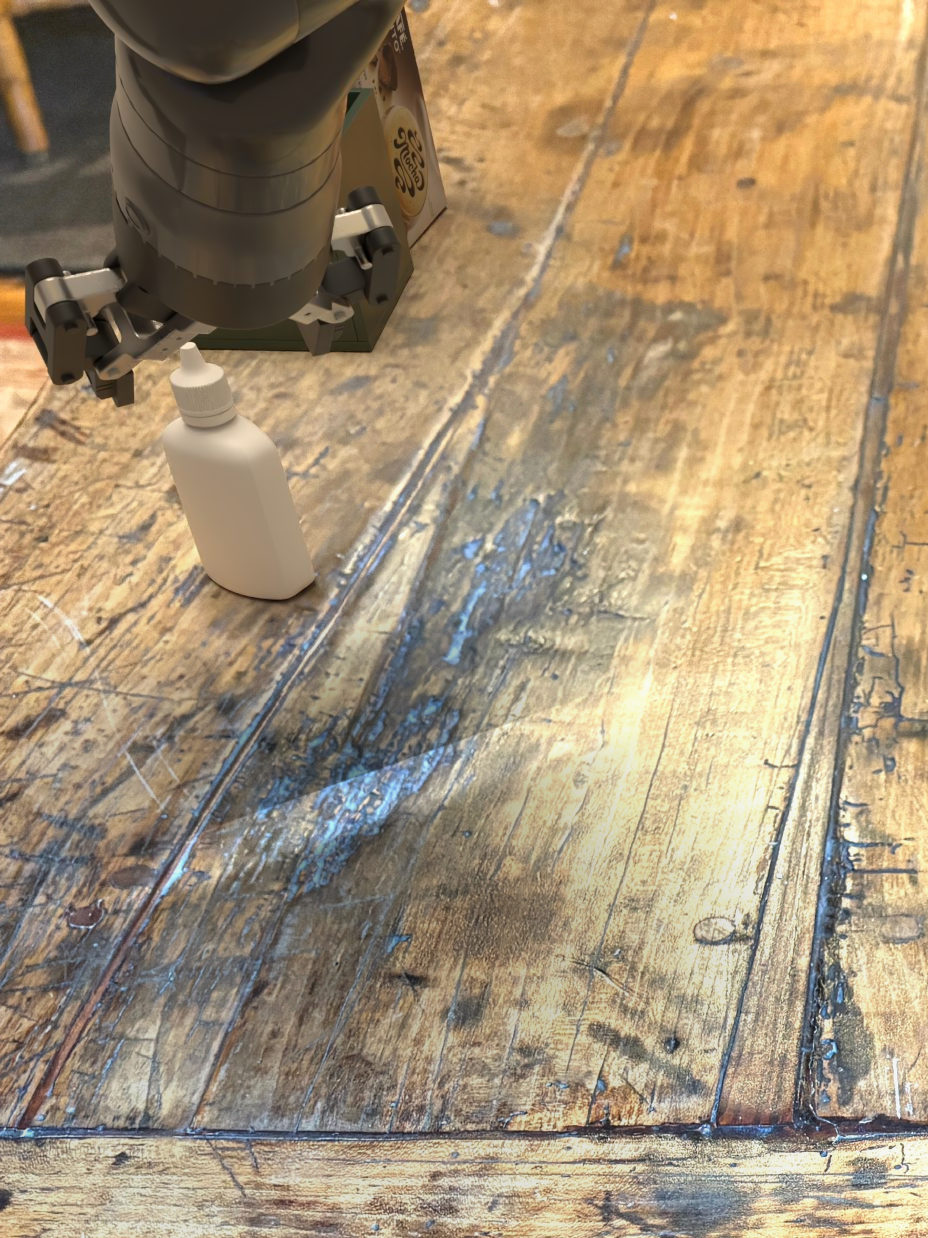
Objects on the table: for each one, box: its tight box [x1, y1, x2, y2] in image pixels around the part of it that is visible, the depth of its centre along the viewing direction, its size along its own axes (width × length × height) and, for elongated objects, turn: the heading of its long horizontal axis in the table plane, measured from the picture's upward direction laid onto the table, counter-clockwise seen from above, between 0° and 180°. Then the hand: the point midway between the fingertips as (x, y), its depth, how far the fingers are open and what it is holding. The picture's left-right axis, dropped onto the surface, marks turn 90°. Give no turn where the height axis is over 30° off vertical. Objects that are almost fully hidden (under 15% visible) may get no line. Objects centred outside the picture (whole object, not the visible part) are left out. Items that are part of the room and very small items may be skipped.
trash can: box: [189, 88, 415, 353], centre depth 115 cm, size 11×11×11 cm
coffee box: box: [352, 6, 448, 249], centre depth 120 cm, size 9×6×16 cm
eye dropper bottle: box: [161, 342, 316, 600], centre depth 94 cm, size 4×6×12 cm
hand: (214, 359), depth 86 cm, fingers open, 8 cm apart
